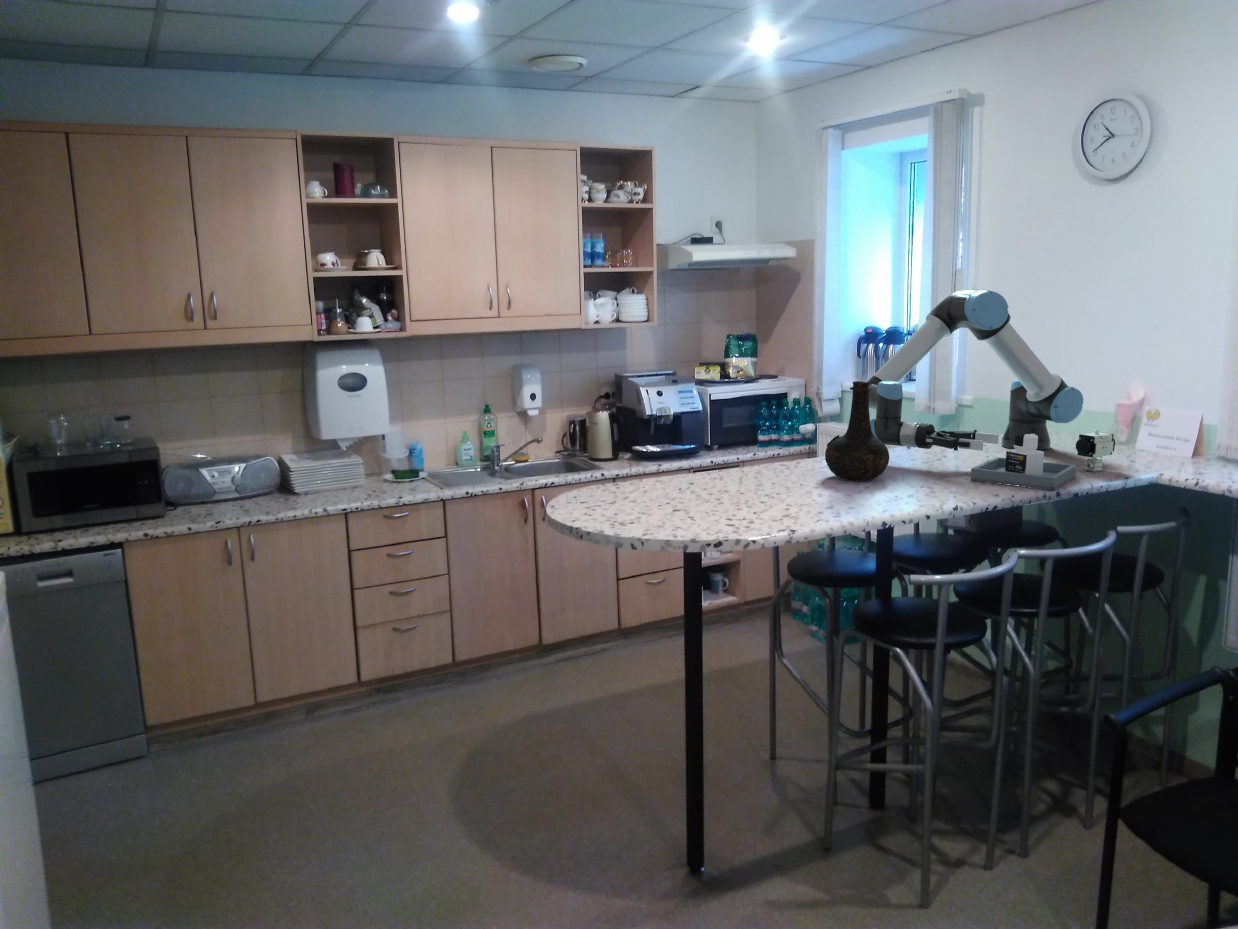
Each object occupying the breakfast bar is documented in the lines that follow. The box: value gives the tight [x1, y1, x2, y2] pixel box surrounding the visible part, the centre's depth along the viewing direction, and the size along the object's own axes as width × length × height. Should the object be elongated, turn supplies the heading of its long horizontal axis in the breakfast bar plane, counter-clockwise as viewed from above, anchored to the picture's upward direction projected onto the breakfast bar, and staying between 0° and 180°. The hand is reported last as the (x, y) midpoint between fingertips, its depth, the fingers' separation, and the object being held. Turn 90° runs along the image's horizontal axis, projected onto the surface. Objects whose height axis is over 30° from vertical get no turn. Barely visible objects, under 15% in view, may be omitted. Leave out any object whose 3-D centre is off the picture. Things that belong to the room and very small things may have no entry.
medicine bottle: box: [1005, 433, 1045, 476], centre depth 257 cm, size 7×7×12 cm
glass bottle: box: [824, 380, 890, 482], centre depth 260 cm, size 18×18×28 cm
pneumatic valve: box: [1075, 429, 1116, 473], centre depth 267 cm, size 6×12×12 cm, turn 117°
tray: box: [970, 456, 1077, 492], centre depth 258 cm, size 22×22×4 cm
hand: (990, 442), depth 263 cm, fingers open, 13 cm apart
